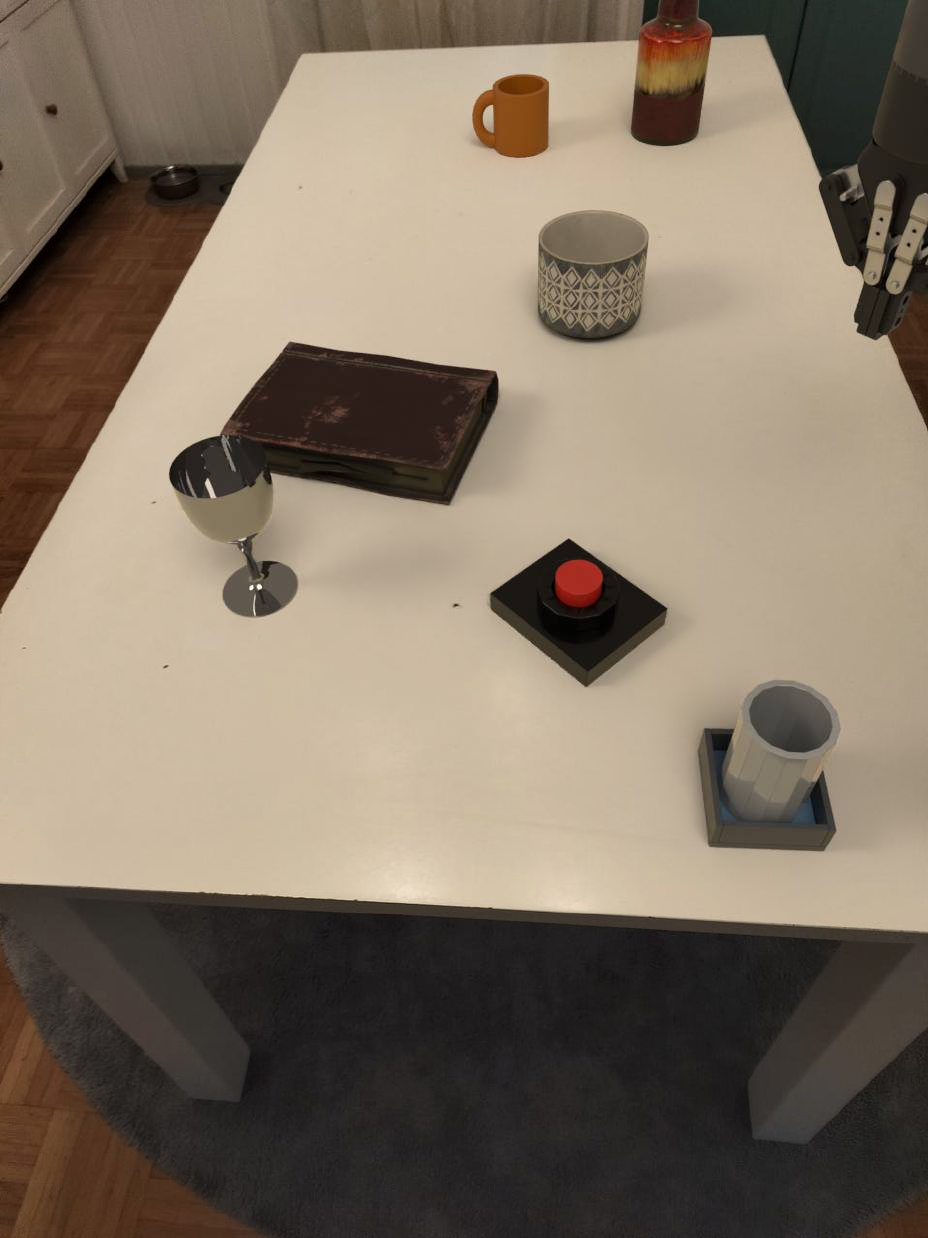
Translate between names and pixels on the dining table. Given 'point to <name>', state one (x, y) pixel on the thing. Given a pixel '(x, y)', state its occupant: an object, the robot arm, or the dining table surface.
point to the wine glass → (234, 516)
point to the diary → (368, 420)
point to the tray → (727, 831)
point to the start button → (578, 583)
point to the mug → (515, 115)
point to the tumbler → (777, 751)
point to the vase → (671, 74)
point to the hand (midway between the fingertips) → (873, 332)
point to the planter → (591, 273)
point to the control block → (578, 615)
